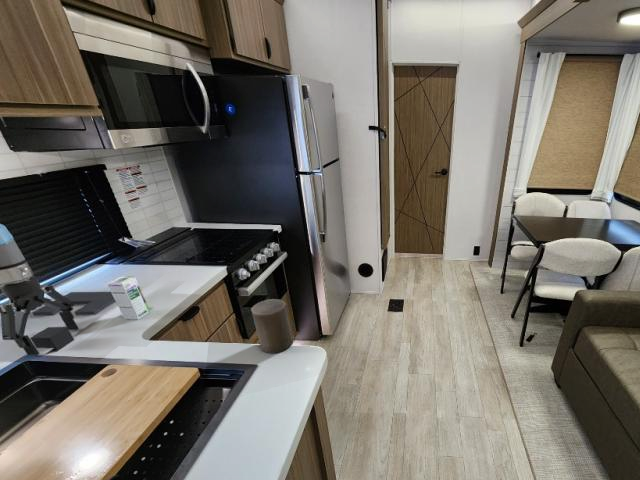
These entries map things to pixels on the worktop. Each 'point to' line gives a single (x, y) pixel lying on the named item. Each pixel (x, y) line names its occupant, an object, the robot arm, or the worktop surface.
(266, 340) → the pillar candle
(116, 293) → the syrup box
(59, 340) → the black pad
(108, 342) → the worktop surface
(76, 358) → the worktop surface
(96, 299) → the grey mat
